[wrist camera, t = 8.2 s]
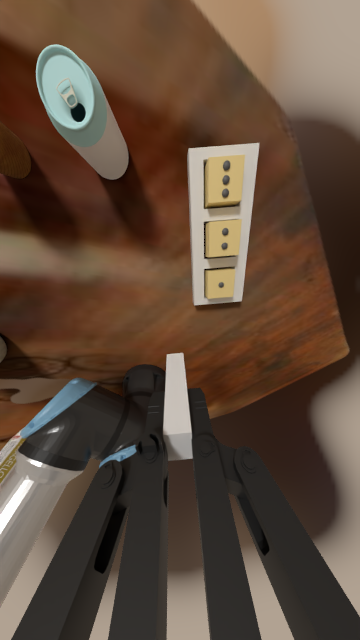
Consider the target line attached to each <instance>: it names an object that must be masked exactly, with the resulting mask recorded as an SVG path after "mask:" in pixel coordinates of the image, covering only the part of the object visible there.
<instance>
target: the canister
mask: <svg viewBox="0 0 360 640" xmlns="http://www.w3.org/2000/svg"><path fill="white" fill-rule="evenodd" d="M6 353H7V346H6V344H5V342H4V340H3V339H2V338H1V337H0V362H1V361H2V360H3V359H4V357H5V355H6Z"/></svg>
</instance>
